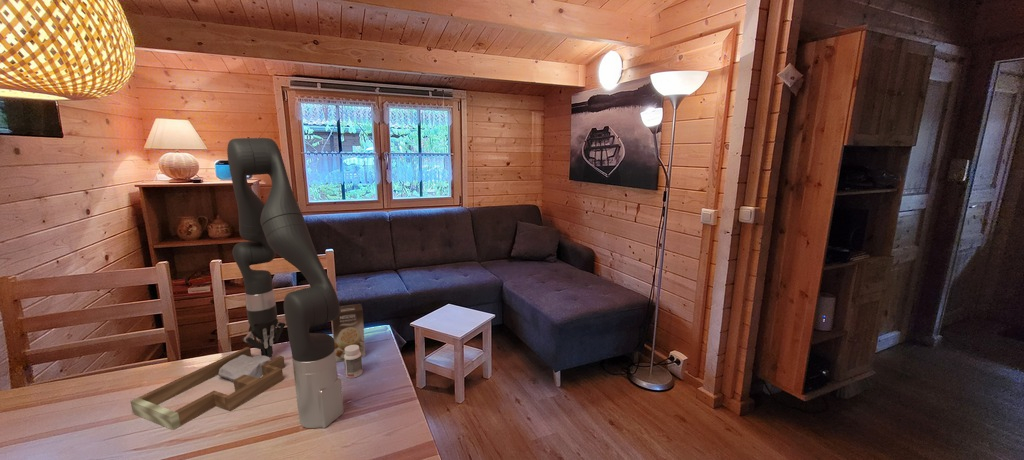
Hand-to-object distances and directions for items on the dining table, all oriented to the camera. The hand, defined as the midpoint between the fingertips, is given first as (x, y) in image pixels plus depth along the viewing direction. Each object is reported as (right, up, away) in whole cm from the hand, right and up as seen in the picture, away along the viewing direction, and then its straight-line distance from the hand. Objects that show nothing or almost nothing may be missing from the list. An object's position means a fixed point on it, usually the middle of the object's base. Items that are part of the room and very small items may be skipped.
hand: (267, 357), depth 122 cm
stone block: (-3, -3, -7) cm, 8 cm away
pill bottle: (+29, -3, -6) cm, 30 cm away
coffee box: (+24, -1, +4) cm, 24 cm away
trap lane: (-3, -4, -15) cm, 16 cm away
